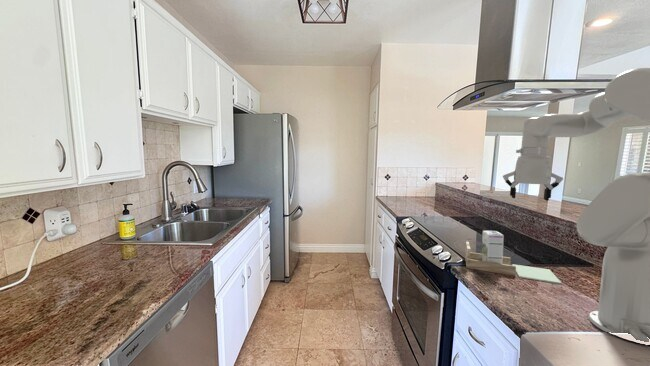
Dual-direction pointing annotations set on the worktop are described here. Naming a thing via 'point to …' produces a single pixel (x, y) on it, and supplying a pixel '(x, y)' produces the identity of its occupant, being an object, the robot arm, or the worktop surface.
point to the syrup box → (492, 247)
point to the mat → (536, 274)
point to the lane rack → (488, 263)
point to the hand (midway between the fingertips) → (529, 198)
